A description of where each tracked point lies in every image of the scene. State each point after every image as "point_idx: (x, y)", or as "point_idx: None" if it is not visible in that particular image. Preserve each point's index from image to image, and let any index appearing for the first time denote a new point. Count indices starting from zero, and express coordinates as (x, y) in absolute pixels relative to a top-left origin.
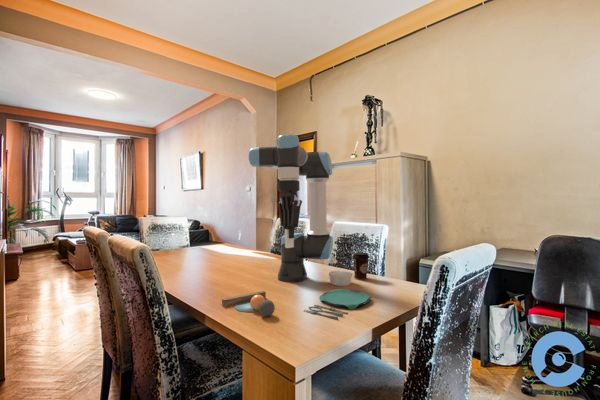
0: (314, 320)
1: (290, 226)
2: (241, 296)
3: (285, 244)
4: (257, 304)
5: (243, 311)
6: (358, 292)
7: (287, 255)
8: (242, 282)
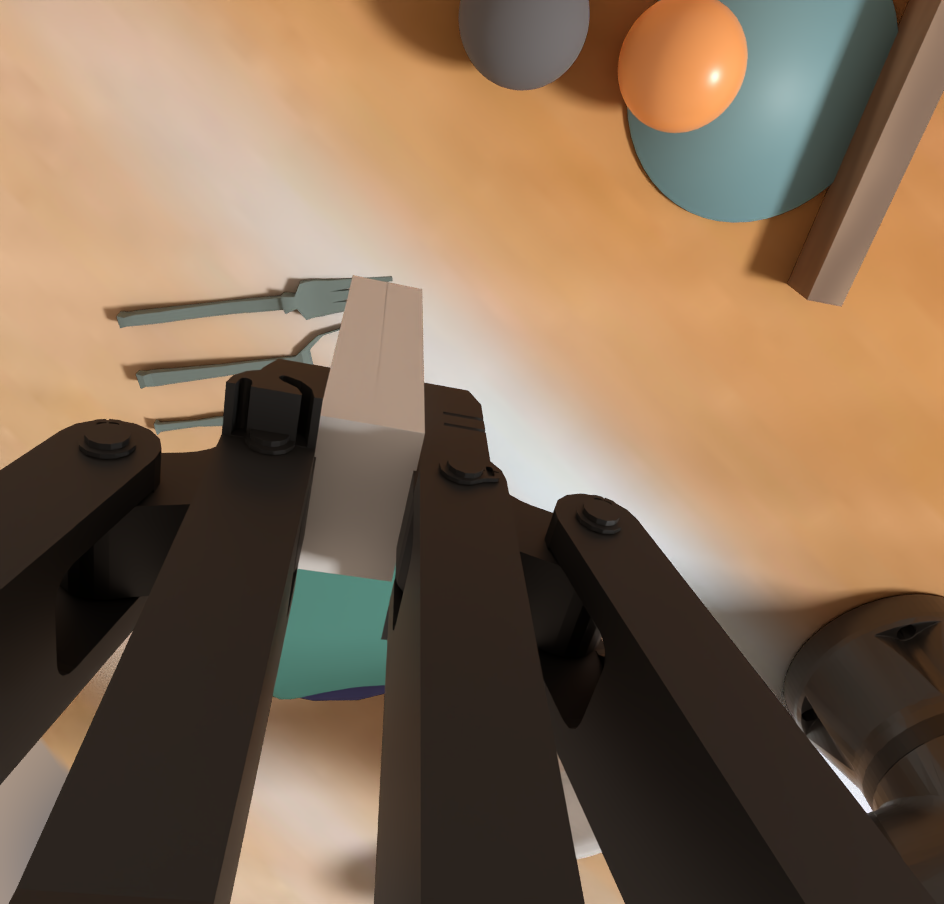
0: (209, 204)
1: (128, 431)
2: (912, 81)
3: (408, 304)
4: (641, 16)
5: None
6: (332, 689)
7: None
8: None
